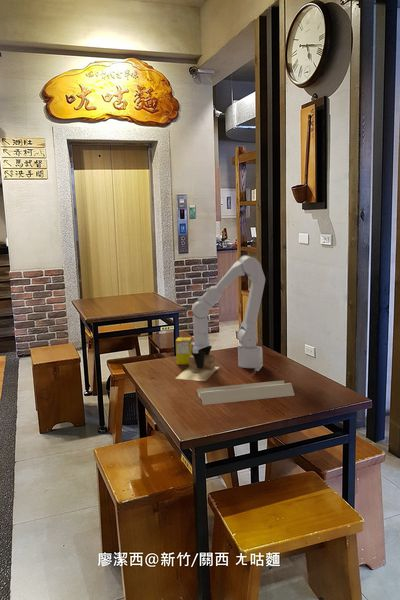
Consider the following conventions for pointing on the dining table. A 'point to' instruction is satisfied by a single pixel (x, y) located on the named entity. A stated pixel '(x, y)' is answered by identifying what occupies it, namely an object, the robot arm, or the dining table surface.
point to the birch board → (196, 374)
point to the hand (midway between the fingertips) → (202, 366)
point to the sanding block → (207, 366)
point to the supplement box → (183, 349)
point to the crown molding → (245, 392)
